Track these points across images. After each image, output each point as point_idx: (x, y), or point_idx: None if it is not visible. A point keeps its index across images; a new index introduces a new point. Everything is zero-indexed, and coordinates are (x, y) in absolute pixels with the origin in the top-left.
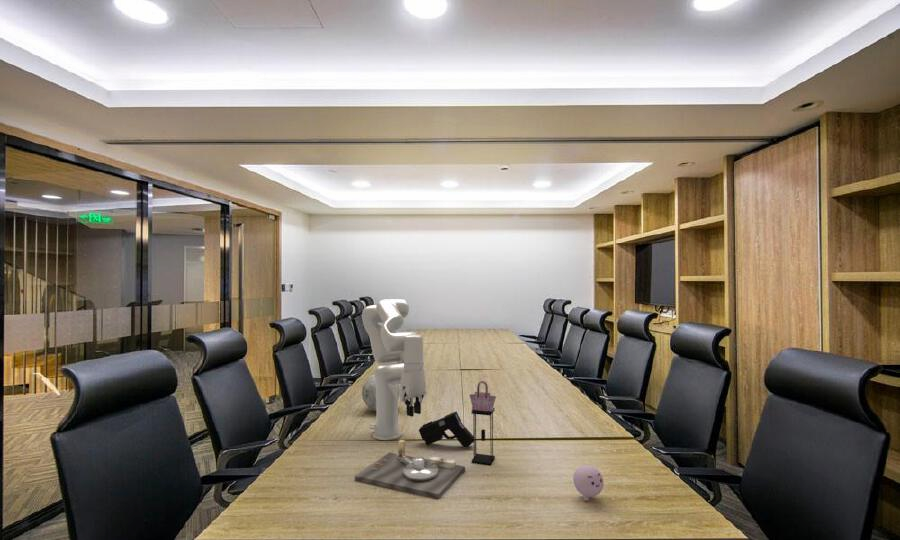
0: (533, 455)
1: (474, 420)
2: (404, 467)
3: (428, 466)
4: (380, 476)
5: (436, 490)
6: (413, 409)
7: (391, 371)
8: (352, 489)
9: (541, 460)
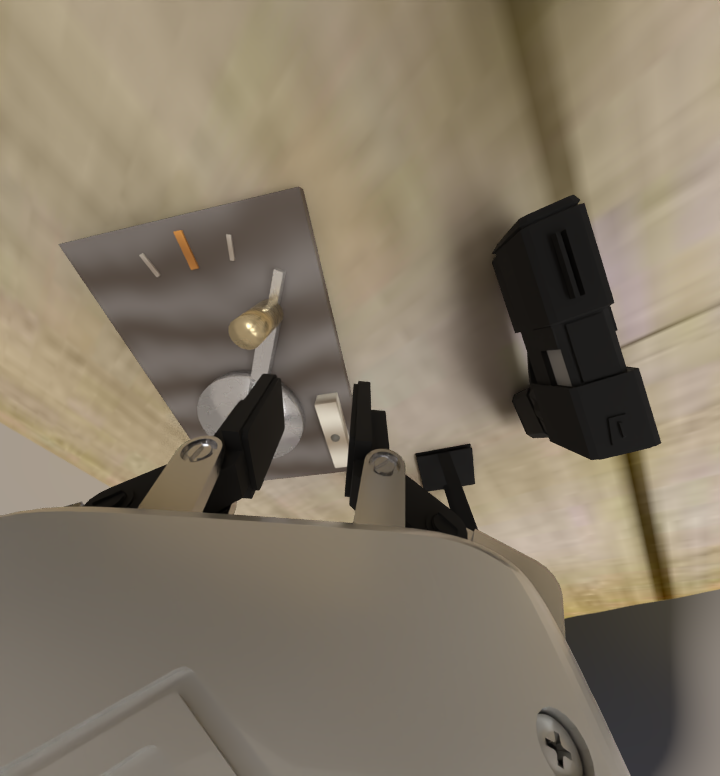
0: (519, 525)
1: None
2: (217, 381)
3: None
4: (146, 330)
5: None
6: (264, 470)
7: None
8: (50, 291)
9: (496, 539)
